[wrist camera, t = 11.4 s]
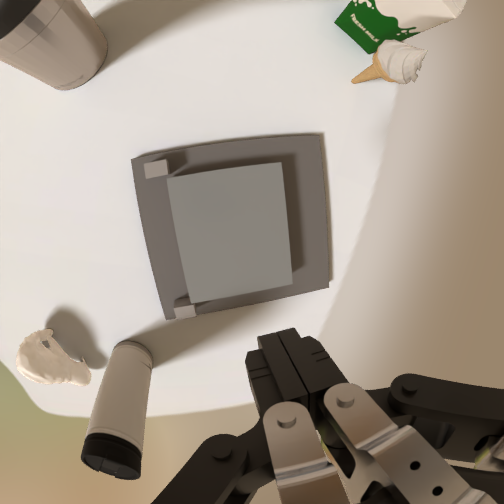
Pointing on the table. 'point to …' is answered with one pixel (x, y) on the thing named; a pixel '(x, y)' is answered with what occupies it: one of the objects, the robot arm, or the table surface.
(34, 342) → the beige irregular lump
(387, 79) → the ice cream cone
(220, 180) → the tile
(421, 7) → the milk carton
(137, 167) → the base
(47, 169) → the table surface
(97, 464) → the travel mug
